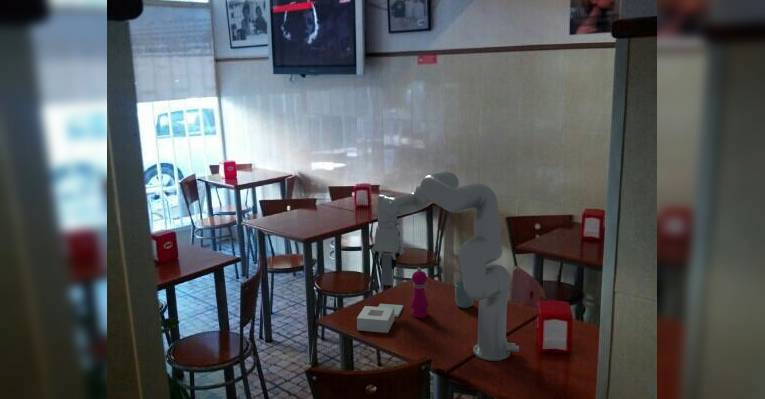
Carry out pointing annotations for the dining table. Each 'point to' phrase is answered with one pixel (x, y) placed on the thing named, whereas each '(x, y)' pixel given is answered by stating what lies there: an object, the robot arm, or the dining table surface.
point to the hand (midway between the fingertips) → (387, 267)
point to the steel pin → (387, 269)
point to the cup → (462, 296)
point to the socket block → (375, 319)
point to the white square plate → (396, 308)
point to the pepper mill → (419, 294)
